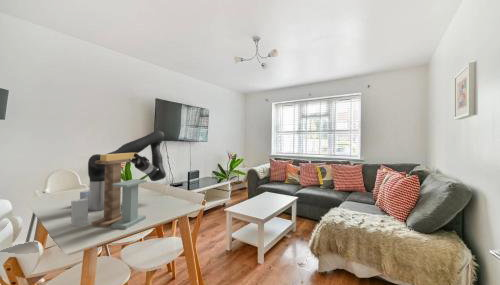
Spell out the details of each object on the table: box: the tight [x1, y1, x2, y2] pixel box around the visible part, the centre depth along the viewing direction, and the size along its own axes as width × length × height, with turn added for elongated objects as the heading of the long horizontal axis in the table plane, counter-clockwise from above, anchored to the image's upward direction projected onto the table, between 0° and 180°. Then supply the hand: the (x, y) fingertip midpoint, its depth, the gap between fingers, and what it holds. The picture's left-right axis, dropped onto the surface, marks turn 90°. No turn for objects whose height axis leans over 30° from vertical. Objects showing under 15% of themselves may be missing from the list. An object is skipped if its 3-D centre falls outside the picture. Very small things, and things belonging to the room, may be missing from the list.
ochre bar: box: [100, 153, 139, 161], centre depth 112 cm, size 4×22×3 cm, turn 170°
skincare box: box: [70, 198, 89, 227], centre depth 102 cm, size 6×4×12 cm
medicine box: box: [79, 189, 90, 200], centre depth 134 cm, size 8×4×9 cm, turn 168°
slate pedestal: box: [111, 178, 148, 230], centre depth 105 cm, size 8×14×21 cm, turn 170°
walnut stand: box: [90, 159, 129, 228], centre depth 107 cm, size 10×14×32 cm
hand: (128, 154), depth 117 cm, fingers open, 8 cm apart
